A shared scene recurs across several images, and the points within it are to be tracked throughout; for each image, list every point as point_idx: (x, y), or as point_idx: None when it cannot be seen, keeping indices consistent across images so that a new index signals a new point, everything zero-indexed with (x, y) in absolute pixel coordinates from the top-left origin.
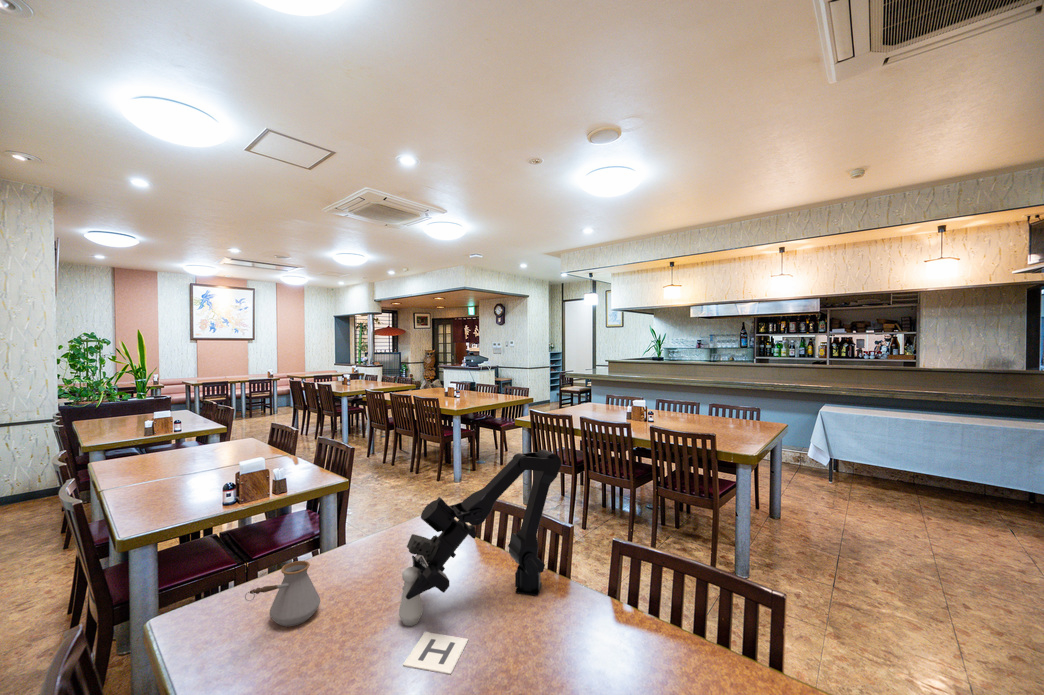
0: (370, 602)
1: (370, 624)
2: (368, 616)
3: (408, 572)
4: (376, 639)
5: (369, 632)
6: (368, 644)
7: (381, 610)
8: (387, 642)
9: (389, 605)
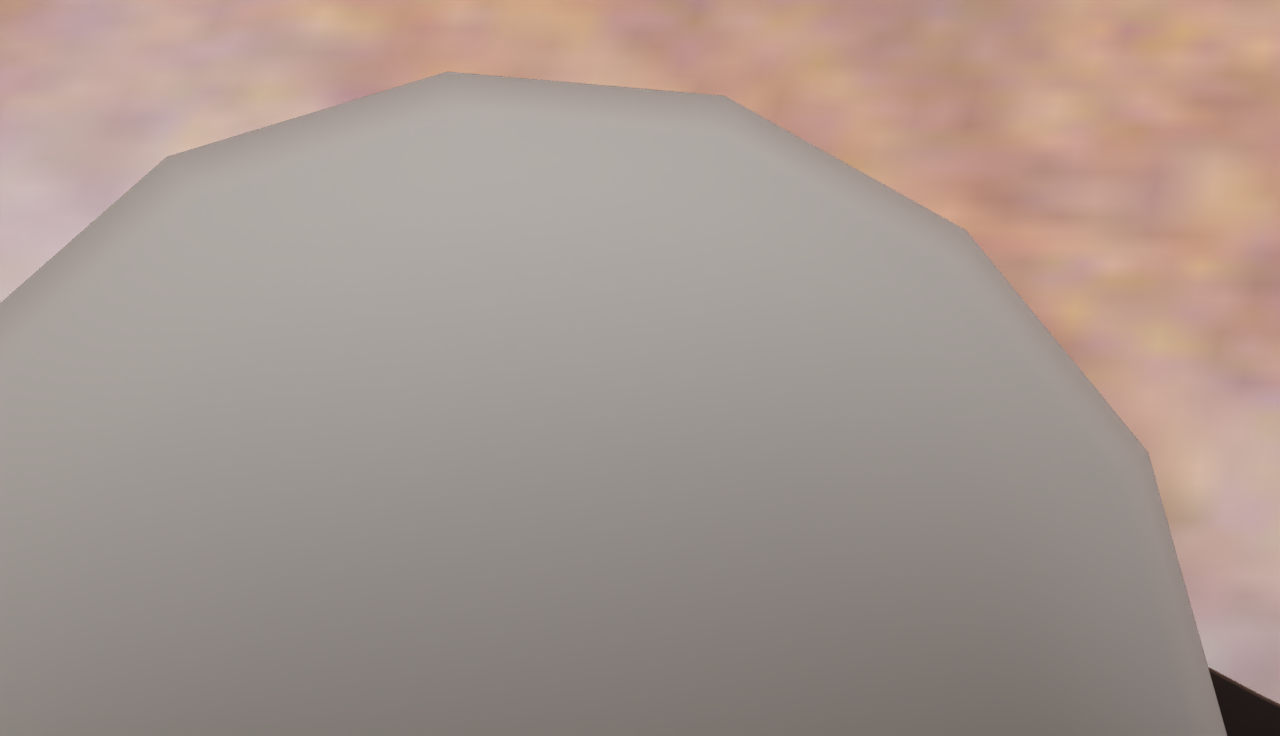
0: (1222, 58)
1: (622, 44)
2: (846, 21)
3: (116, 437)
4: (187, 117)
5: (414, 25)
6: (107, 5)
7: (966, 212)
8: (29, 277)
9: (1087, 342)
